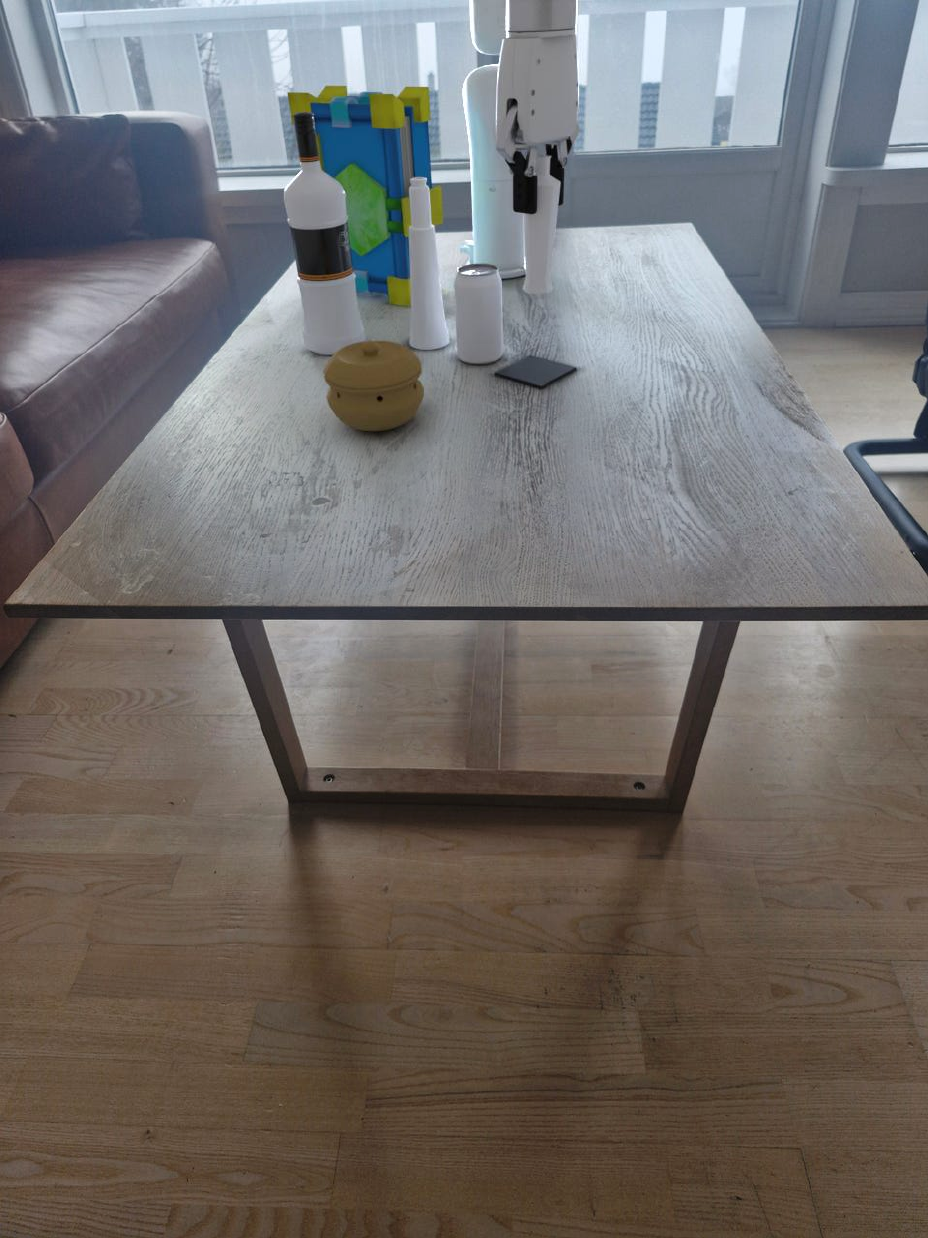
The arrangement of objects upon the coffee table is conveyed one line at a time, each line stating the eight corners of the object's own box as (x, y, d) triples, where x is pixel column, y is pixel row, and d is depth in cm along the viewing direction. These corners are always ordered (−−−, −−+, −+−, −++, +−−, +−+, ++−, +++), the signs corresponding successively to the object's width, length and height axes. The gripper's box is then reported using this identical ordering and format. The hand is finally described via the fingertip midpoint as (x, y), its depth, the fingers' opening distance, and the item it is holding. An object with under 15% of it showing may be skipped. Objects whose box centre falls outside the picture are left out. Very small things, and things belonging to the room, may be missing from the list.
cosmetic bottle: (402, 348, 118) (387, 181, 104) (419, 334, 122) (407, 173, 109) (439, 351, 116) (429, 183, 102) (455, 338, 120) (448, 174, 107)
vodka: (300, 340, 122) (260, 111, 104) (358, 331, 125) (330, 105, 106) (312, 360, 115) (272, 118, 97) (373, 350, 118) (346, 112, 99)
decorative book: (407, 311, 132) (388, 95, 113) (301, 294, 142) (269, 93, 123) (453, 287, 141) (443, 84, 122) (351, 273, 151) (328, 83, 132)
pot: (354, 399, 104) (344, 321, 98) (439, 407, 101) (434, 327, 95) (314, 437, 95) (300, 355, 89) (406, 447, 92) (398, 363, 86)
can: (508, 350, 115) (507, 263, 108) (494, 367, 111) (493, 276, 103) (466, 347, 117) (462, 261, 110) (451, 363, 112) (446, 274, 105)
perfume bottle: (555, 285, 103) (562, 152, 94) (555, 294, 100) (561, 158, 91) (520, 285, 104) (523, 153, 95) (518, 294, 100) (521, 158, 91)
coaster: (494, 375, 108) (494, 372, 108) (530, 357, 113) (530, 354, 113) (541, 388, 104) (541, 385, 104) (576, 369, 109) (576, 367, 108)
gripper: (559, 15, 91) (554, 192, 103) (462, 24, 82) (469, 218, 93) (615, 14, 87) (603, 198, 99) (519, 23, 78) (519, 226, 89)
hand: (538, 206), depth 96 cm, fingers closed on perfume bottle, 4 cm apart
